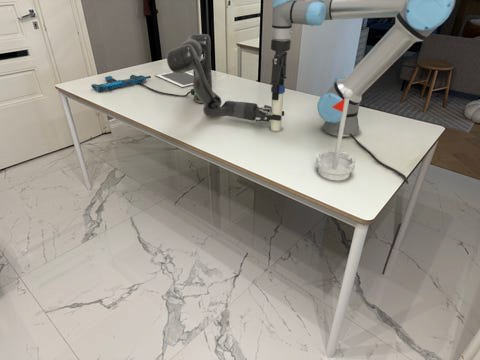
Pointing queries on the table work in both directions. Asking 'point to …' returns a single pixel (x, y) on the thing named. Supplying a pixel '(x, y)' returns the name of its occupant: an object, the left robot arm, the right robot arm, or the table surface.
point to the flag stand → (337, 149)
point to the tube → (277, 113)
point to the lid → (280, 89)
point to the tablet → (178, 78)
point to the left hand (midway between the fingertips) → (282, 115)
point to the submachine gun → (119, 82)
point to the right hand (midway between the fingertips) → (277, 96)
